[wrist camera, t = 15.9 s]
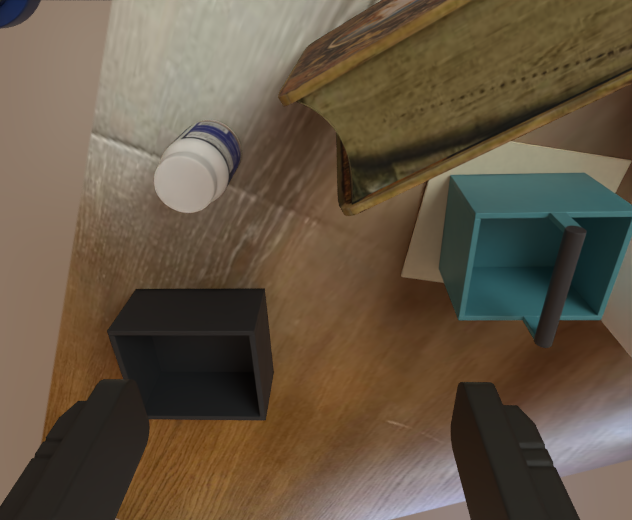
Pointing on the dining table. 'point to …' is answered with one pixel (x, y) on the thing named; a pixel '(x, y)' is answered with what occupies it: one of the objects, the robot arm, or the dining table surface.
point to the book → (453, 82)
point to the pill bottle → (197, 166)
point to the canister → (621, 304)
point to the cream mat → (497, 161)
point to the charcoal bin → (197, 352)
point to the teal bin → (532, 248)
